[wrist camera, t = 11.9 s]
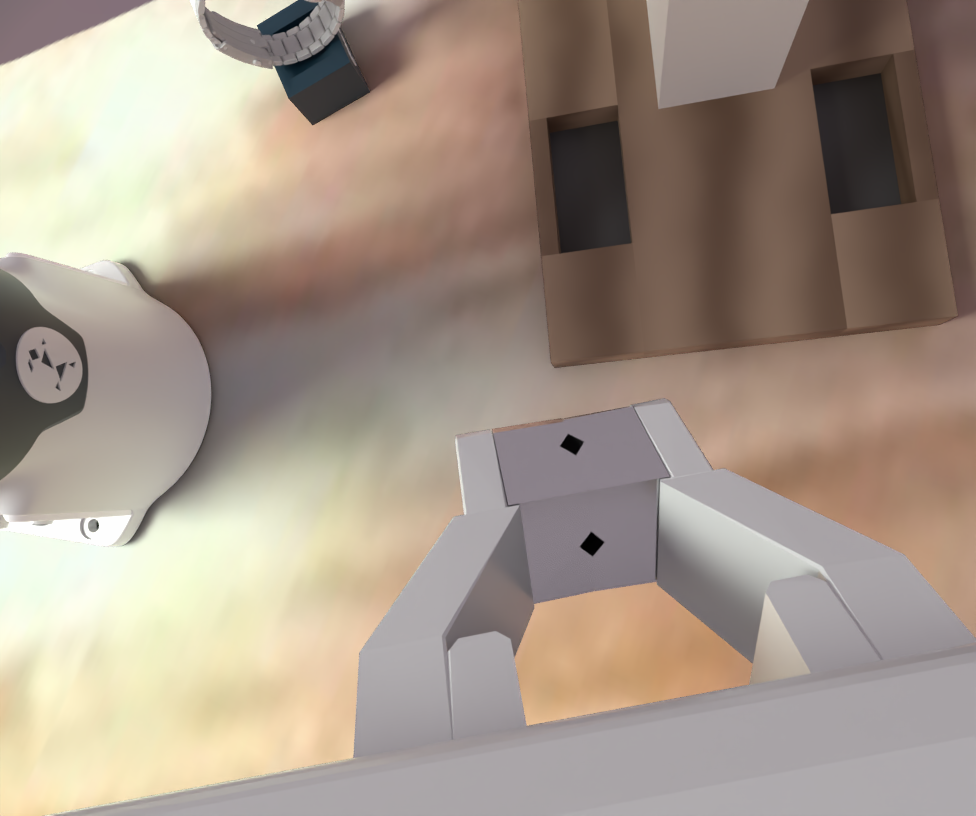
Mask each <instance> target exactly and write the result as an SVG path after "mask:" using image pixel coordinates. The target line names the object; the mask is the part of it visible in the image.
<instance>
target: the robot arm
mask: <svg viewBox="0 0 976 816" xmlns="http://www.w3.org/2000/svg"><path fill="white" fill-rule="evenodd" d="M210 408H211V380H210V373H209V368H208V364H207V360H206V357H205V354H204V351H203V349H202V346H201V344H200V342H199V340H198V338H197V337H196V335H195V333H194V332H193V330H192V329H191V328H190V326H189V325H188V324H187V323H186V322H185V320H184V319H183V318H182V317H181V316H180V315H178V314H177V313H176V312H175V311H174V310H172V309H171V308H169V307H168V306H166V305H165V304H163V303H161V302H159V301H158V300H156V299H154V298H152V297H151V296H149V295H148V294H147V293H146V292H144V291H143V289H142V288H141V286H140V284H139V283H138V281H137V280H136V278H135V277H134V276H133V274H132V273H131V272H130V270H129V269H128V268H127V267H126V266H124V265H123V264H121V263H117V262H114V261H110V260H102V261H99V262H96V263H93V264H91V265H88V266H86V267H83V268H81V269H76V268H73V267H70V266H66V265H63V264H59V263H55V262H52V261H48V260H45V259H41V258H38V257H34V256H30V255H27V254H22V253H8V254H7V255H6V256H5V257H4V258H0V530H5V531H11V532H17V533H23V534H30V535H36V536H42V537H48V538H54V539H60V540H66V541H73V542H79V543H85V544H91V545H97V546H104V547H118V546H122V545H124V544H126V543H127V542H128V541H129V540H130V539H131V538H132V537H133V535H134V534H135V532H136V530H137V529H138V527H139V525H140V523H141V521H142V520H143V518H144V516H145V514H146V512H147V510H148V508H149V507H150V506H151V504H152V503H153V502H154V501H155V500H156V499H157V498H159V497H160V496H161V495H162V494H163V493H165V492H166V491H167V490H168V489H169V488H170V487H171V486H172V485H173V484H175V483H176V482H177V480H178V479H179V478H180V477H181V476H182V475H183V473H184V472H185V471H186V470H187V468H188V467H189V465H190V464H191V462H192V461H193V459H194V457H195V455H196V454H197V452H198V450H199V448H200V445H201V443H202V440H203V438H204V435H205V432H206V428H207V425H208V420H209V415H210ZM492 434H493V435H492ZM455 445H456V453H457V461H458V469H459V477H460V485H461V493H462V502H463V510H464V515H460V516H455V517H453V518H452V520H451V521H450V523H449V524H448V525H447V527H446V528H445V530H444V531H443V533H442V534H441V536H440V537H439V538H438V540H437V541H436V543H435V544H434V546H433V547H432V549H431V550H430V551H429V553H428V554H427V556H426V557H425V559H424V560H423V562H422V563H421V564H420V566H419V567H418V569H417V570H416V572H415V573H414V575H413V576H412V577H411V579H410V580H409V582H408V583H407V585H406V586H405V588H404V589H403V590H402V592H401V593H400V595H399V596H398V598H397V599H396V601H395V602H394V603H393V605H392V606H391V608H390V609H389V611H388V612H387V614H386V615H385V616H384V618H383V619H382V621H381V622H380V624H379V625H378V627H377V628H376V629H375V631H374V632H373V634H372V635H371V637H370V638H369V640H368V641H367V642H366V644H365V645H364V647H363V648H362V650H361V651H360V653H359V669H358V687H357V704H356V722H355V740H354V757H353V758H351V759H346V760H340V761H335V762H330V763H324V764H319V765H314V766H308V767H303V768H297V769H292V770H287V771H281V772H276V773H270V774H265V775H260V776H254V777H249V778H244V779H238V780H233V781H227V782H222V783H217V784H211V785H206V786H200V787H195V788H190V789H184V790H179V791H174V792H168V793H163V794H157V795H152V796H147V797H141V798H136V799H130V800H125V801H120V802H114V803H109V804H104V805H98V806H93V807H87V808H82V809H77V810H71V811H66V812H60V813H55V814H50V815H44V816H976V638H975V637H974V636H973V635H972V634H971V632H970V631H969V630H968V629H967V628H966V627H965V625H964V624H963V623H962V622H961V621H960V620H959V618H958V617H957V616H956V615H955V614H954V612H953V611H952V610H951V609H950V608H949V607H948V605H947V604H946V603H945V602H944V601H943V600H942V598H941V597H940V596H939V595H938V594H937V592H936V591H935V590H934V589H933V588H932V587H931V585H930V584H929V583H928V582H927V581H926V580H925V578H924V577H923V576H922V575H921V574H920V572H919V571H918V570H917V569H916V568H915V567H914V565H913V564H912V563H911V562H910V561H909V560H908V558H907V557H906V556H905V555H904V554H902V553H900V552H898V551H896V550H894V549H892V548H889V547H887V546H885V545H883V544H881V543H879V542H877V541H875V540H873V539H871V538H869V537H866V536H864V535H862V534H860V533H858V532H856V531H854V530H852V529H850V528H848V527H846V526H844V525H841V524H839V523H837V522H835V521H833V520H831V519H829V518H827V517H825V516H823V515H821V514H819V513H816V512H814V511H812V510H810V509H808V508H806V507H804V506H802V505H800V504H798V503H796V502H794V501H791V500H789V499H787V498H785V497H783V496H781V495H779V494H777V493H775V492H773V491H771V490H769V489H766V488H764V487H762V486H760V485H758V484H756V483H754V482H752V481H750V480H748V479H746V478H743V477H741V476H739V475H737V474H735V473H733V472H731V471H729V470H727V469H725V468H724V469H718V470H713V468H712V467H711V465H710V464H709V462H708V460H707V459H706V457H705V456H704V454H703V452H702V451H701V449H700V448H699V446H698V445H697V443H696V441H695V440H694V438H693V437H692V435H691V433H690V432H689V430H688V429H687V427H686V426H685V424H684V422H683V421H682V419H681V418H680V416H679V415H678V413H677V411H676V410H675V408H674V407H673V405H672V403H671V402H670V401H669V400H667V399H665V398H663V399H658V400H653V401H648V402H643V403H639V404H634V405H630V407H625V408H619V409H614V410H608V411H603V412H597V413H591V414H586V415H580V416H575V417H569V418H564V419H561V418H560V419H554V420H547V421H541V422H534V423H528V424H521V425H515V426H508V427H502V428H495V429H492V432H491V431H490V430H484V431H478V432H472V433H466V434H460V435H456V438H455ZM97 521H98V522H99V529H97ZM651 582H657V585H658V586H659V587H661V588H662V589H663V590H664V591H665V592H667V593H668V594H669V595H670V596H672V597H673V598H674V599H675V600H676V601H678V602H679V603H680V604H681V605H682V606H684V607H685V608H686V609H687V610H688V611H690V612H691V613H692V614H693V615H695V616H696V617H697V618H698V619H699V620H701V621H702V622H703V623H704V624H705V625H707V626H708V627H709V628H710V629H711V630H713V631H714V632H715V633H716V634H718V635H719V636H720V637H721V638H722V639H724V640H725V641H726V642H727V643H728V644H730V645H731V646H732V647H733V648H734V649H736V650H737V651H738V652H739V653H741V654H742V655H743V656H744V657H745V658H747V659H748V660H749V661H750V662H751V663H753V666H752V672H751V677H750V683H749V685H745V686H740V687H734V688H729V689H724V690H718V691H713V692H707V693H702V694H697V695H691V696H686V697H680V698H675V699H670V700H664V701H659V702H653V703H648V704H643V705H637V706H632V707H626V708H621V709H615V710H610V711H605V712H599V713H594V714H588V715H583V716H578V717H572V718H567V719H561V720H556V721H551V722H545V723H540V724H534V725H529V726H526V720H525V715H524V709H523V704H522V698H521V693H520V687H519V682H518V676H517V671H516V665H515V660H514V657H515V655H516V652H517V650H518V647H519V645H520V642H521V640H522V637H523V635H524V632H525V630H526V627H527V625H528V622H529V620H530V617H531V615H532V612H533V610H534V604H536V603H540V602H545V601H550V600H555V599H559V598H564V597H569V596H574V595H579V594H583V593H588V592H593V591H594V590H595V591H599V590H605V589H612V588H618V587H625V586H631V585H638V584H644V583H651Z"/></svg>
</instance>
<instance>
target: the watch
mask: <svg viewBox="0 0 976 816" xmlns="http://www.w3.org/2000/svg"><path fill="white" fill-rule="evenodd" d="M190 2H191V5H192V7H193V9H194V12H195V14H196V17H197V19H198V21H199V24H200V26H201V28H202V30H203V32H204V34H205V35H206V37H207V38H208V39H209V40H210V41H211V43H212V44H213V46H214V47H215V49H217V50H219V51H220V52H222V53H224V54H226V55H228V56H230V57H232V58H234V59H237V60H239V61H242V62H245V63H248V64H251V65H255V66H259V67H264V68H269V69H273V67H272V66H275V68H276V71H277V73H278V75H279V77H280V80H281V82H282V84H283V87H284V89H285V91H286V94H287V96H288V98H289V99H290V101H291V102H292V103H293V104H294V105H295V106H296V107H297V108H298V109H299V111H300V112H301V113H302V114H303V115H304V116H305V117H306V118H307V119H308V121H309V122H310V123H311V124H312V125H314V124H315V123H317V122H319V121H321V120H322V119H324V118H326V117H327V116H329V115H331V114H333V113H334V112H336V111H338V110H340V109H341V108H343V107H345V106H346V105H348V104H350V103H352V102H353V101H355V100H357V99H359V98H360V97H362V96H364V95H365V94H367V93H369V92H370V90H369V88H368V86H367V84H366V82H365V79H364V77H363V75H362V73H361V71H360V69H359V66H358V64H357V62H356V60H355V58H354V56H353V54H352V51H351V49H350V47H349V45H348V43H347V41H346V38H345V36H344V34H343V32H342V30H341V28H340V26H341V22H342V20H343V16H344V6H345V1H344V0H298V1H296V2H294V3H293V4H291V5H290V6H288V7H286V8H285V9H283V10H281V11H280V12H278V13H276V14H275V15H273V16H272V17H270V18H268V19H267V20H265V21H263V22H262V23H260V24H259V25H257V27H258V29H259V30H258V29H254V28H250V27H247V26H244V25H241V24H238V23H235V22H233V21H231V20H229V19H227V18H225V17H223V16H221V15H219V14H218V13H216V12H214V11H212V12H211V11H209V10H208V9H207V8H206V7H205V0H190Z"/></svg>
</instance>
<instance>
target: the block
mask: <svg viewBox="0 0 976 816" xmlns="http://www.w3.org/2000/svg"><path fill="white" fill-rule="evenodd" d="M646 1H647V10H648V19H649V28H650V37H651V46H652V55H653V64H654V73H655V82H656V91H657V100H658V109H662V108H667V107H673V106H679V105H684V104H690V103H695V102H701V101H707V100H712V99H718V98H723V97H729V96H734V95H740V94H746V93H751V92H757V91H762V90H768V89H774V88H775V86H776V83H777V81H778V78H779V75H780V73H781V70H782V68H783V65H784V63H785V60H786V58H787V55H788V53H789V50H790V47H791V45H792V42H793V40H794V37H795V35H796V32H797V30H798V27H799V24H800V22H801V19H802V17H803V14H804V12H805V9H806V7H807V4H808V1H809V0H646Z"/></svg>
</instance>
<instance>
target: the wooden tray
mask: <svg viewBox="0 0 976 816" xmlns="http://www.w3.org/2000/svg"><path fill="white" fill-rule="evenodd" d="M518 7H519V18H520V29H521V40H522V51H523V62H524V73H525V84H526V95H527V106H528V117H529V128H530V139H531V150H532V161H533V172H534V183H535V194H536V205H537V216H538V227H539V238H540V249H541V259H542V270H543V281H544V292H545V303H546V314H547V325H548V336H549V347H550V358H551V363H552V365H553V366H554V368H557V367H566V366H575V365H584V364H593V363H602V362H611V361H620V360H629V359H638V358H647V357H656V356H665V355H674V354H683V353H692V352H700V351H709V350H718V349H727V348H736V347H745V346H754V345H763V344H772V343H781V342H790V341H799V340H808V339H817V338H826V337H835V336H844V335H853V334H862V333H871V332H880V331H889V330H898V329H907V328H916V327H924V326H933V325H940V324H942V323H944V322H946V321H948V320H950V319H953V318H955V317H957V316H958V313H957V307H956V301H955V294H954V288H953V282H952V276H951V270H950V264H949V258H948V251H947V245H946V239H945V233H944V227H943V221H942V215H941V209H940V202H939V196H938V190H937V184H936V178H935V172H934V166H933V159H932V153H931V147H930V141H929V135H928V129H927V123H926V116H925V110H924V104H923V98H922V92H921V86H920V80H919V73H918V67H917V61H916V55H915V49H914V43H913V37H912V30H911V24H910V18H909V12H908V6H907V0H809V1H808V4H807V7H806V9H805V12H804V14H803V17H802V19H801V22H800V24H799V27H798V30H797V32H796V35H795V37H794V40H793V42H792V45H791V47H790V50H789V53H788V55H787V58H786V60H785V63H784V65H783V68H782V70H781V73H780V75H779V78H778V81H777V83H776V86H775V88H774V89H768V90H762V91H757V92H751V93H746V94H740V95H734V96H729V97H723V98H718V99H712V100H707V101H701V102H695V103H690V104H684V105H679V106H673V107H667V108H662V109H658V100H657V91H656V82H655V73H654V64H653V55H652V46H651V37H650V28H649V19H648V10H647V1H646V0H518Z"/></svg>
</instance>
